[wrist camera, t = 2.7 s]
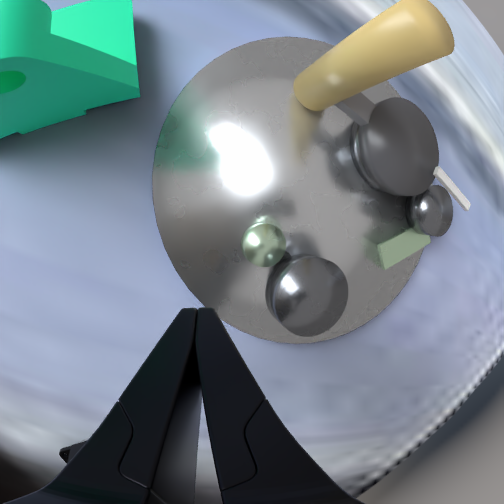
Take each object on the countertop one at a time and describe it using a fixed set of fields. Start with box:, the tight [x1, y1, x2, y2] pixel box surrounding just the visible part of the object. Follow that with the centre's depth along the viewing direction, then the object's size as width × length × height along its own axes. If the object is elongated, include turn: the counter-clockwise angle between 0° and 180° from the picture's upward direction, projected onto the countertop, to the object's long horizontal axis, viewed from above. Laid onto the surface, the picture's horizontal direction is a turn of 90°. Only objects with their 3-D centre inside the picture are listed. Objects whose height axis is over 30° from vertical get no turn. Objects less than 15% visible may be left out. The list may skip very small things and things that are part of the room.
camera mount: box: [0, 0, 140, 139], centre depth 11 cm, size 12×8×10 cm, turn 100°
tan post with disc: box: [293, 0, 471, 211], centre depth 16 cm, size 16×7×11 cm, turn 60°
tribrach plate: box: [152, 37, 453, 344], centre depth 20 cm, size 22×22×3 cm
